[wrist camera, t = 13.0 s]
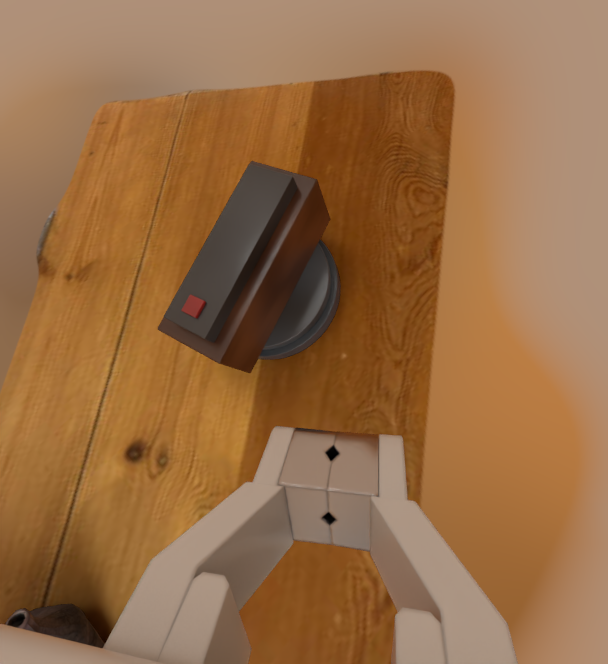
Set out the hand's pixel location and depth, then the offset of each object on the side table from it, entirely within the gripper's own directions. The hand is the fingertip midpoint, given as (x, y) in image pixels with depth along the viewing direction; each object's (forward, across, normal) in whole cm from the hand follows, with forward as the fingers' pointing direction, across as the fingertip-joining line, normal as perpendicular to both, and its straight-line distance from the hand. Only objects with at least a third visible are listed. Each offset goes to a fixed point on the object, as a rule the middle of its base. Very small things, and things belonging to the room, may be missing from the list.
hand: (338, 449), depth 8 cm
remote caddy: (+20, +8, +4) cm, 22 cm away
